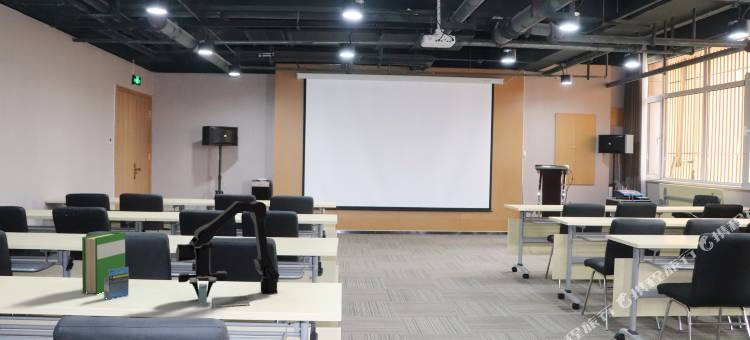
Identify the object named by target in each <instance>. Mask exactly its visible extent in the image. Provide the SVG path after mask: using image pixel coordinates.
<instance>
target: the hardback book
mask: <svg viewBox="0 0 750 340" xmlns="http://www.w3.org/2000/svg"><path fill="white" fill-rule="evenodd" d="M81 238H82V239H81V242H82V244H81V245H82V246H81V247H82V248H81V251H82V252H81V253H82V254H81V255H82V256H81V257H82V260H81V261H82V266H81V267H82V294H83V293H86V292H89V293H91V294H93V293H94V294H95V295H96V294H99V293H102V292H104V278H106V277H108V276H109V270H111V269H118V268H124V267H126V232H123V231H107V232H102V233H98V234H93V235H87V236H83V237H81ZM120 272H122V271H117V272H116V273H120ZM86 294H87V293H86ZM102 294H103V293H102ZM99 295H100V294H99Z"/></svg>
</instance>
